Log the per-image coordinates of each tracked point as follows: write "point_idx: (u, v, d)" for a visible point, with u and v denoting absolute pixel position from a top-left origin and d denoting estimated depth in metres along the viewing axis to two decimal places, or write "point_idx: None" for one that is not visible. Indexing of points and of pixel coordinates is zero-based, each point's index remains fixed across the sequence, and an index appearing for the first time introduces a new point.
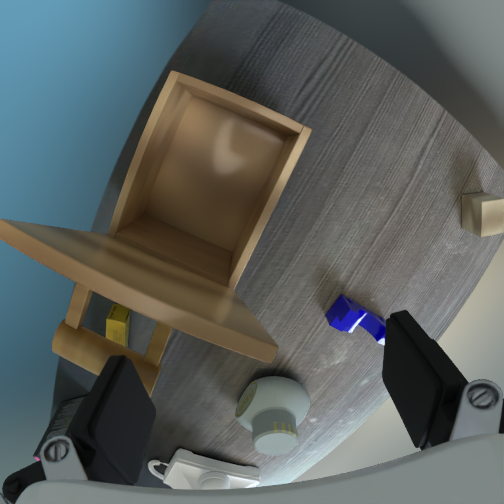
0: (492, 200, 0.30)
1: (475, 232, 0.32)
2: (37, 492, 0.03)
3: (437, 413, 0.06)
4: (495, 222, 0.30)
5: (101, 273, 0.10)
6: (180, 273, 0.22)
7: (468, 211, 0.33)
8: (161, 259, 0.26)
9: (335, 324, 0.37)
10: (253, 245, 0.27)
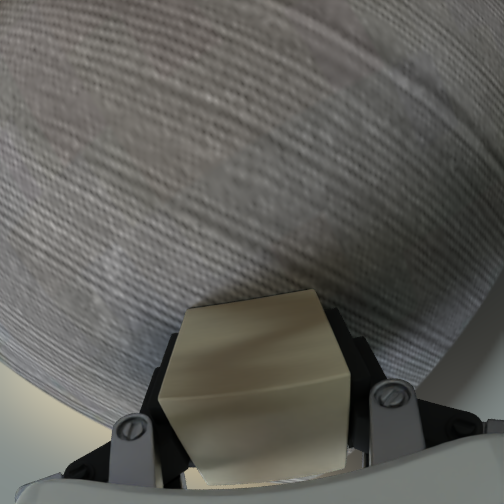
0: (348, 426, 0.07)
1: (177, 366, 0.08)
2: (37, 492, 0.03)
3: (351, 408, 0.07)
4: (244, 457, 0.07)
5: None
6: None
7: (262, 321, 0.09)
8: None
9: None
10: None
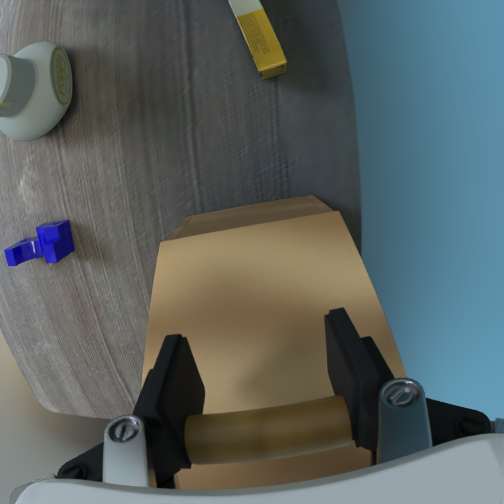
0: None
1: None
2: (37, 492, 0.03)
3: (359, 407, 0.07)
4: None
5: None
6: None
7: None
8: None
9: (53, 230, 0.28)
10: None
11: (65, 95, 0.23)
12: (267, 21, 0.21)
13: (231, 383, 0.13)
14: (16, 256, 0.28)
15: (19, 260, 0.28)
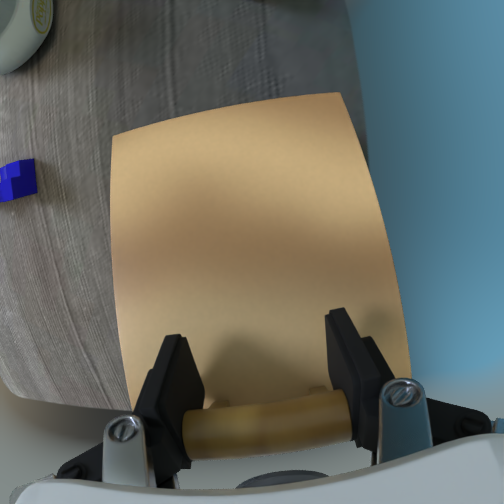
0: None
1: None
2: (37, 492, 0.03)
3: (360, 407, 0.07)
4: None
5: None
6: None
7: None
8: None
9: (15, 166, 0.22)
10: None
11: (43, 25, 0.18)
12: None
13: (216, 330, 0.13)
14: None
15: None
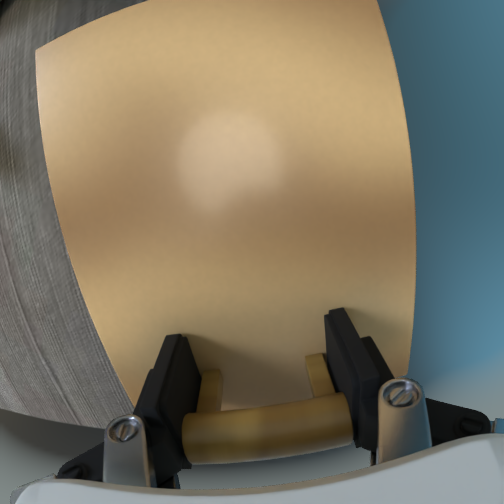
0: None
1: None
2: (37, 492, 0.03)
3: (359, 407, 0.07)
4: None
5: None
6: None
7: None
8: None
9: None
10: None
11: None
12: None
13: (199, 301, 0.11)
14: None
15: None
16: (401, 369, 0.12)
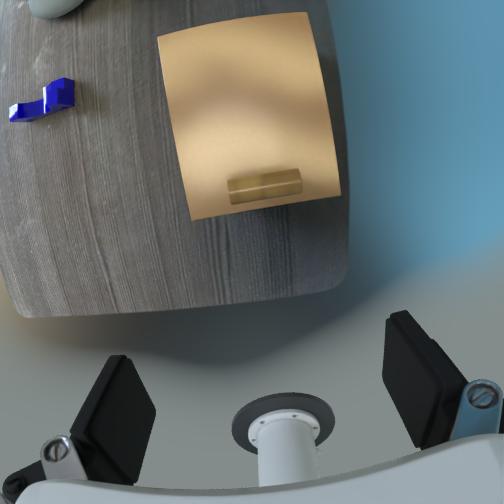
0: None
1: None
2: (37, 492, 0.03)
3: (437, 413, 0.06)
4: None
5: None
6: None
7: None
8: None
9: (59, 82, 0.27)
10: None
11: None
12: None
13: (233, 143, 0.24)
14: (19, 111, 0.27)
15: (21, 115, 0.27)
16: (336, 190, 0.25)
